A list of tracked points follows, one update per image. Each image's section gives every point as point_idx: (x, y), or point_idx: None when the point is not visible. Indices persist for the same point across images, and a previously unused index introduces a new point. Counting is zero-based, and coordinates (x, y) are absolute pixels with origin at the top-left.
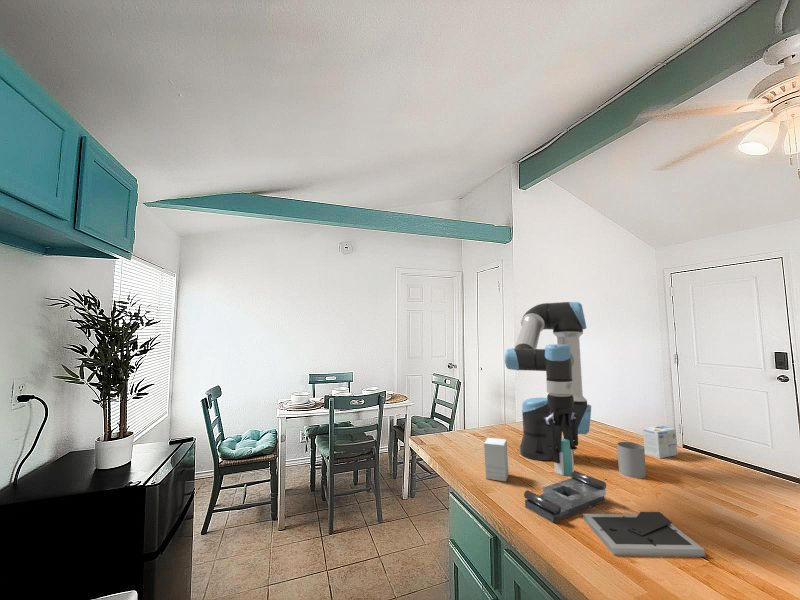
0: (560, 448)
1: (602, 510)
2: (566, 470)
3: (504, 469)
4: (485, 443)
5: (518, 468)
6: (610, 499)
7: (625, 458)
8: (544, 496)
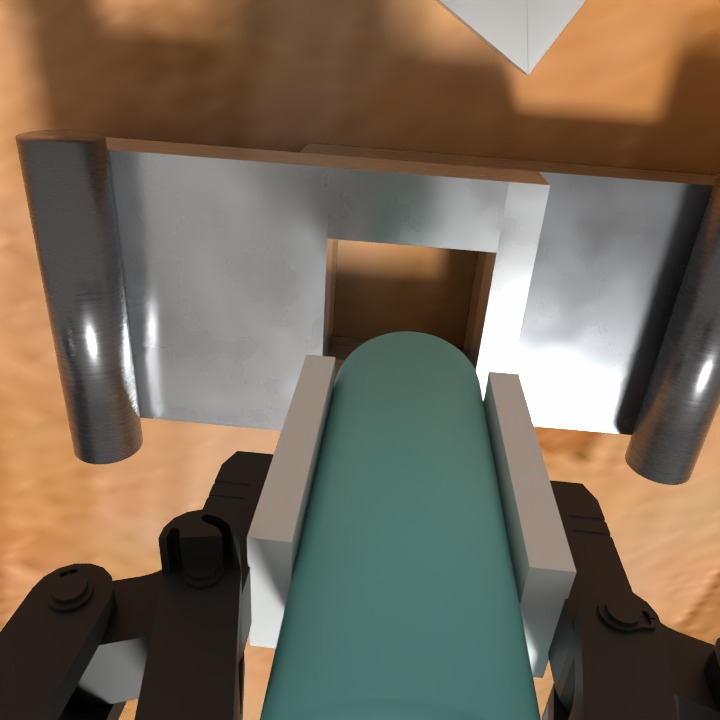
0: (590, 644)
1: (251, 61)
2: (462, 380)
3: None
4: None
5: None
6: (26, 127)
7: None
8: None
